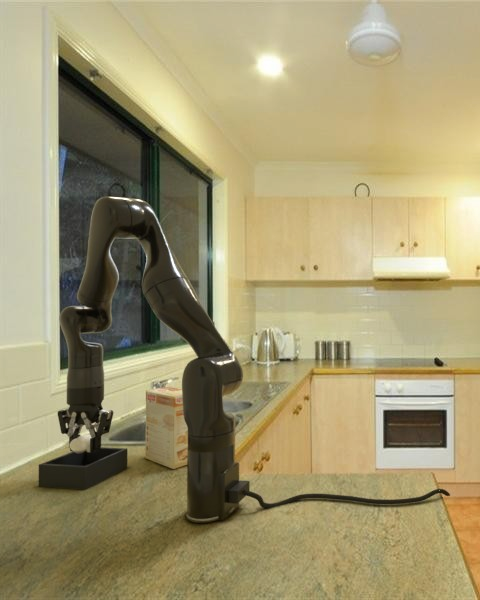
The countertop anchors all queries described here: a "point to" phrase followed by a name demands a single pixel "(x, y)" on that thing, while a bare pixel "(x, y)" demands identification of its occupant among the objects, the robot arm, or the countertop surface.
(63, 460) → the basin
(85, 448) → the dumpling
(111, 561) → the countertop surface
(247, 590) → the countertop surface
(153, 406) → the coffeecake box
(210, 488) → the robot arm
